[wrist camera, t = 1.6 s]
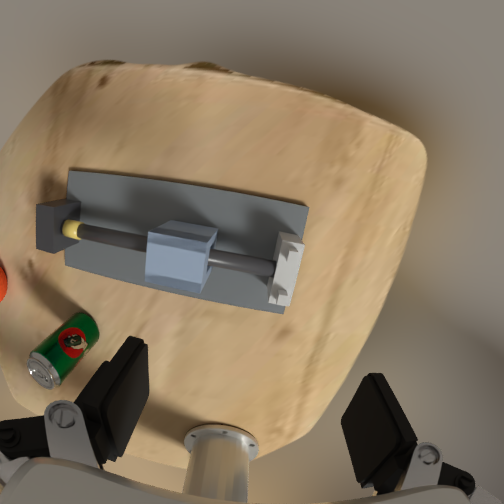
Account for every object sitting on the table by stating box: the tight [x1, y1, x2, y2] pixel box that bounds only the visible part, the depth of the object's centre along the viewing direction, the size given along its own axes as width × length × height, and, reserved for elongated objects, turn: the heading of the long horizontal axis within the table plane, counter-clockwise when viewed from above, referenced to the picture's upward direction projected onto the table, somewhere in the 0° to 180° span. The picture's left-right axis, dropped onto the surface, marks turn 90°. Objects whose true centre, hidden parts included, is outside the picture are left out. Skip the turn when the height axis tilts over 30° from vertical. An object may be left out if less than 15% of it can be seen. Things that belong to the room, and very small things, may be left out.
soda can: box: [27, 313, 99, 389], centre depth 27 cm, size 5×5×12 cm
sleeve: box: [145, 220, 218, 294], centre depth 25 cm, size 5×4×6 cm
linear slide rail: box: [36, 171, 309, 314], centre depth 26 cm, size 28×12×6 cm, turn 79°
